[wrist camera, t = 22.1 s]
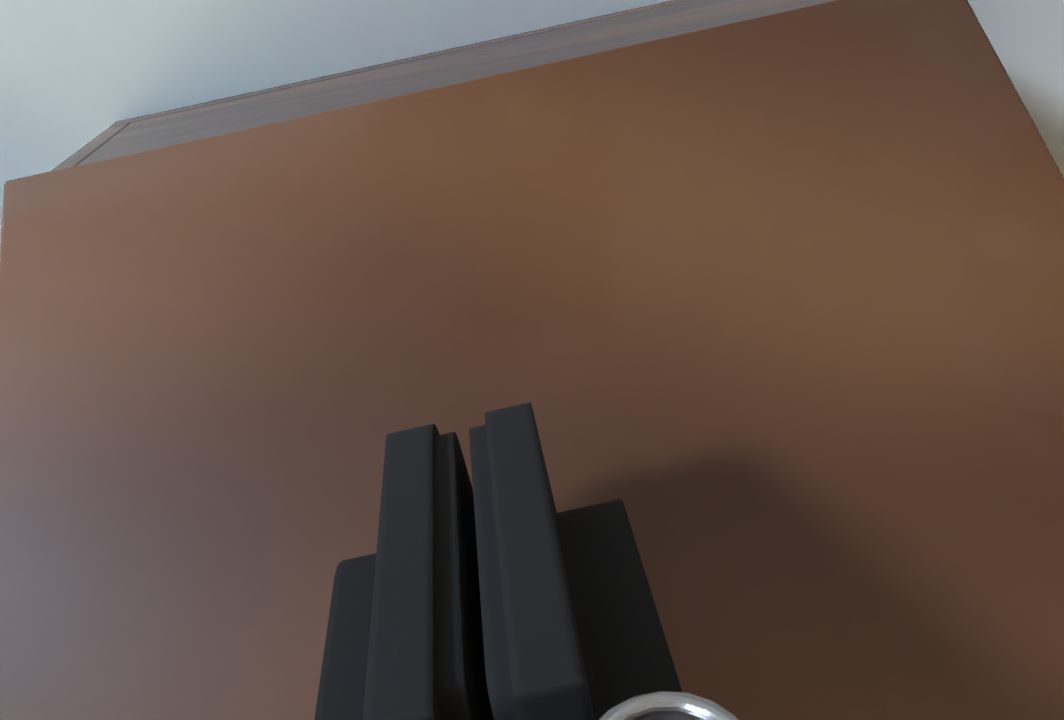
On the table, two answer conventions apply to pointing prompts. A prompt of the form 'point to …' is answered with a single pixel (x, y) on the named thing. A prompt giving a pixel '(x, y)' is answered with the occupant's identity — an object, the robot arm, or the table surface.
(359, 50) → the table surface
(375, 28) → the table surface
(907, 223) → the box lid
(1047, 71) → the table surface
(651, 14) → the box
